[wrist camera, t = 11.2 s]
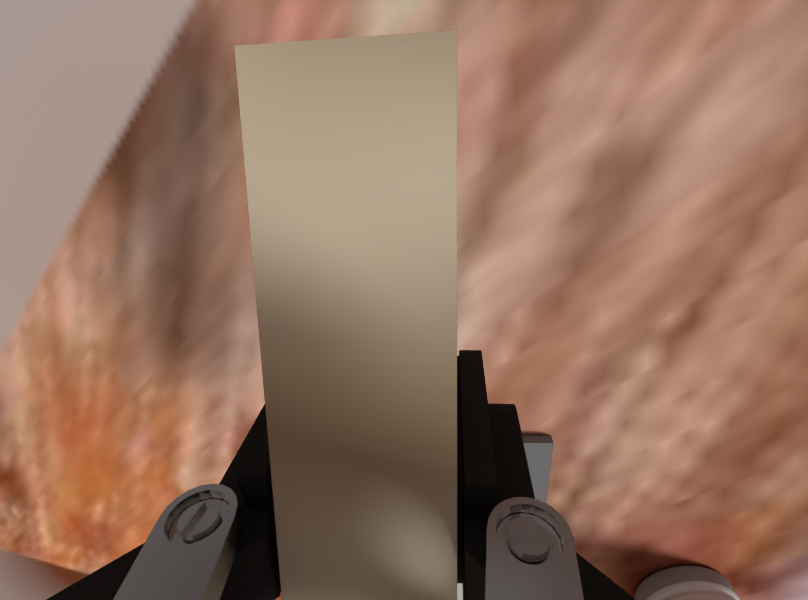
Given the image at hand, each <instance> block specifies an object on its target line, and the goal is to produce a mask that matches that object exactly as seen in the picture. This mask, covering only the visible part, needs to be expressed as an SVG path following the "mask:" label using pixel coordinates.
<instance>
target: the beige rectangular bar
mask: <svg viewBox="0 0 808 600" xmlns="http://www.w3.org/2000/svg"><path fill="white" fill-rule="evenodd" d="M234 47H235V58H236V70H237V82H238V93H239V105H240V117H241V128H242V140H243V152H244V163H245V175H246V187H247V198H248V210H249V222H250V233H251V245H252V257H253V268H254V280H255V291H256V303H257V315H258V326H259V338H260V350H261V361H262V373H263V385H264V396H265V408H266V420H267V431H268V443H269V455H270V466H271V478H272V490H273V501H274V513H275V525H276V536H277V548H278V560H279V571H280V583H281V595H282V600H463V586H462V584H461V583H457V30H452V31H438V32H423V33H409V34H394V35H380V36H366V37H351V38H337V39H323V40H308V41H294V42H280V43H265V44H251V45H237V46H234Z"/></svg>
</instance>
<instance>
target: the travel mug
mask: <svg viewBox="0 0 808 600" xmlns="http://www.w3.org/2000/svg"><path fill="white" fill-rule="evenodd" d="M634 599H636V600H740V599H739V597H738V596H737V594H736V592H735V591H734V589H733V588H732V586H731V584H730V583H729V581H728V580H727V579H726V578H725V577H724V576H722V575H721V574H719V573H718V572H716V571H714V570H711V569H708V568H705V567H698V566H675V567H670V568H666V569H663V570H660V571H658V572H656V573H654V574H652V575H650V576H649V577H647V578H646V579H645V580H644V581H643V582H642V583H641V584H640V585H639V586H638V588H637V590H636V593H635V597H634Z"/></svg>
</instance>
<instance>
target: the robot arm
mask: <svg viewBox="0 0 808 600" xmlns="http://www.w3.org/2000/svg"><path fill="white" fill-rule="evenodd" d="M457 583H461V584H462V586H463V600H636V599H634V598H633V597H632V596H631V595H629V594H628V593H627V592H626V591H624V590H623V589H622V588H620V587H619V586H618V585H617V584H615V583H614V582H613V581H612V580H610V579H609V578H608V577H607V576H605V575H604V574H603V573H602V572H600V571H599V570H598V569H597V568H595V567H594V566H593V565H592V564H590V563H589V562H588V561H586V560H585V559H584V558H583V557H581V556H580V555H579V554H578V553H576V550H575V544H574V539H573V536H572V533H571V530H570V527H569V525H568V524H567V522H566V521H565V520H564V518H563V517H562V515H561V514H559V513H558V512H557V511H556V510H555V509H554V508H552V507H551V506H549V505H547V504H546V503H544V502H542V501H540V500H536V499H535V496H534V491H533V486H532V482H531V477H530V472H529V467H528V462H527V458H526V453H525V448H524V443H523V439H522V434H521V429H520V424H519V419H518V415H517V410H516V406H515V405H514V404H488V401H487V392H486V384H485V376H484V368H483V360H482V352H481V350H459V356H457ZM280 592H281V583H280V571H279V560H278V548H277V536H276V525H275V513H274V501H273V490H272V478H271V466H270V455H269V443H268V431H267V420H266V408H265V405H264V406H263V408H262V410H261V412H260V413H259V415H258V417H257V419H256V420H255V422H254V424H253V426H252V428H251V429H250V431H249V433H248V435H247V436H246V438H245V440H244V442H243V443H242V445H241V447H240V449H239V450H238V452H237V454H236V456H235V457H234V459H233V461H232V463H231V464H230V466H229V468H228V470H227V471H226V473H225V475H224V477H223V478H222V480H221V482H220V484H207V485H201V486H198V487H196V488H193V489H191V490H188V491H187V492H185V493H184V494H182V495H180V496H179V497H177V498H176V499H175V500H174V501H173V502H172V503H171V504H169V505H168V506H167V507H166V509H165V510H164V511H163V513H162V514H161V516H160V517H159V519H158V520H157V522H156V524H155V526H154V528H153V529H152V531H151V533H150V535H149V537H148V538H147V540H146V542H145V543H144V544H142V545H140V546H138V547H137V548H135V549H133V550H132V551H130V552H128V553H126V554H125V555H123V556H121V557H119V558H118V559H116V560H114V561H112V562H111V563H109V564H107V565H106V566H104V567H102V568H100V569H99V570H97V571H95V572H93V573H92V574H90V575H88V576H86V577H85V578H83V579H81V580H80V581H78V582H76V583H74V584H73V585H71V586H69V587H67V588H66V589H64V590H62V591H61V592H59V593H57V594H55V595H54V596H52V597H50V598H48V599H47V600H275V599H276V598H277V597H279V595H280Z"/></svg>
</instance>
